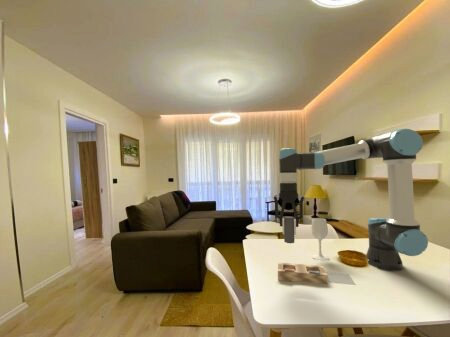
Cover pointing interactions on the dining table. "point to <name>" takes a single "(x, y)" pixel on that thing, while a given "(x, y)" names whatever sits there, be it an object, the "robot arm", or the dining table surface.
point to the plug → (289, 229)
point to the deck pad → (340, 278)
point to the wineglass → (319, 235)
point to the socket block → (302, 273)
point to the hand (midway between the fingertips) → (289, 233)
